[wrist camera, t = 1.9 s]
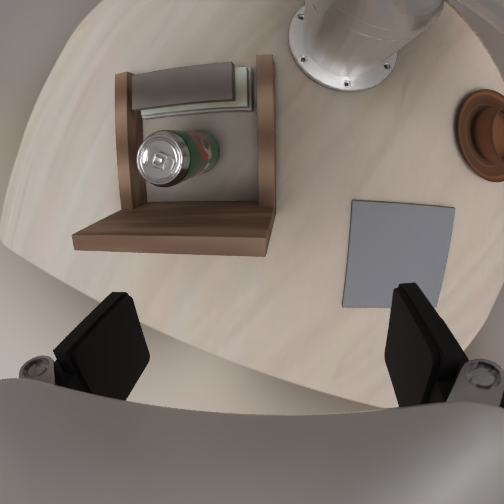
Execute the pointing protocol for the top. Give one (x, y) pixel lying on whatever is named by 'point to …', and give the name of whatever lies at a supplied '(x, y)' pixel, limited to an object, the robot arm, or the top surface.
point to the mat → (395, 251)
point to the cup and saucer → (483, 133)
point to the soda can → (176, 156)
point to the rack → (189, 212)
